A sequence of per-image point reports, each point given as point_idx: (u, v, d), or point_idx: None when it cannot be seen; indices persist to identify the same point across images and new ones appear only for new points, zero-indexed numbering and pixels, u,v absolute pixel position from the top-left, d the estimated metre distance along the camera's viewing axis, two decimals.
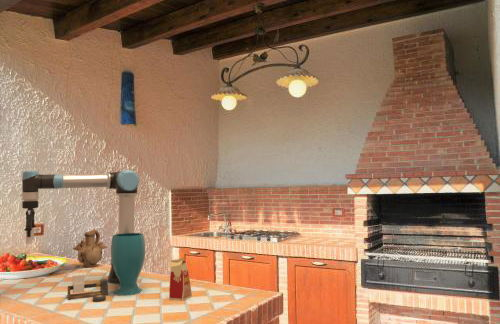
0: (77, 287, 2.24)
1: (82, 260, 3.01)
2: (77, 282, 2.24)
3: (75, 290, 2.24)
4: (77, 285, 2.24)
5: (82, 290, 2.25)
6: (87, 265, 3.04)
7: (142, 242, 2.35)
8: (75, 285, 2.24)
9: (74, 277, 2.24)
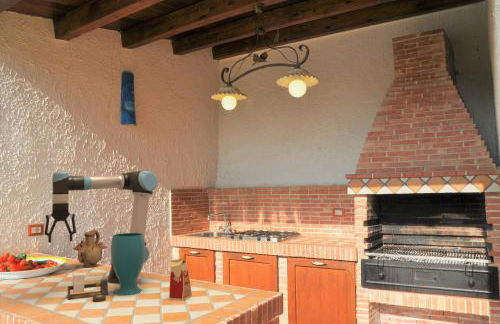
0: (77, 287, 2.24)
1: (82, 260, 3.01)
2: (77, 282, 2.24)
3: (75, 290, 2.24)
4: (77, 285, 2.24)
5: (82, 290, 2.25)
6: (87, 265, 3.04)
7: (142, 242, 2.35)
8: (75, 285, 2.24)
9: (74, 277, 2.24)
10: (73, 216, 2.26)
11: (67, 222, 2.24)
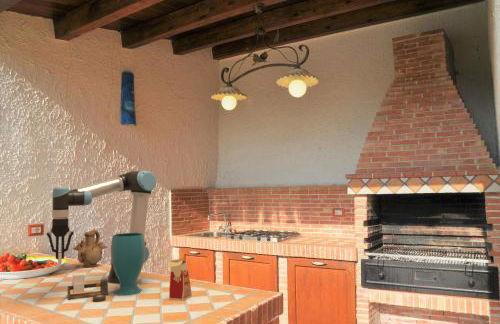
0: (77, 287, 2.24)
1: (82, 260, 3.01)
2: (77, 282, 2.24)
3: (75, 290, 2.24)
4: (77, 285, 2.24)
5: (82, 290, 2.25)
6: (87, 265, 3.04)
7: (142, 242, 2.35)
8: (75, 285, 2.24)
9: (74, 277, 2.24)
10: (71, 234, 2.25)
11: None
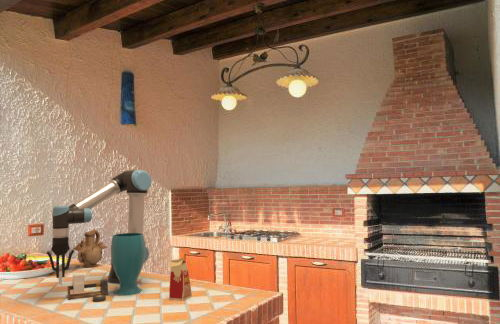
0: (77, 287, 2.24)
1: (82, 260, 3.01)
2: (77, 282, 2.24)
3: (75, 290, 2.24)
4: (77, 285, 2.24)
5: (82, 290, 2.25)
6: (87, 265, 3.04)
7: (142, 242, 2.35)
8: (75, 285, 2.24)
9: (74, 277, 2.24)
10: (72, 252, 2.25)
11: (64, 257, 2.23)
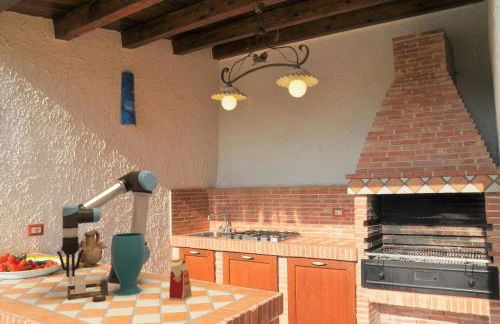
0: (79, 286, 2.24)
1: (82, 260, 3.01)
2: (78, 282, 2.25)
3: (76, 290, 2.24)
4: (78, 285, 2.24)
5: (83, 290, 2.25)
6: (87, 265, 3.04)
7: (142, 242, 2.35)
8: (76, 285, 2.24)
9: (75, 277, 2.24)
10: (81, 251, 2.27)
11: (74, 257, 2.25)
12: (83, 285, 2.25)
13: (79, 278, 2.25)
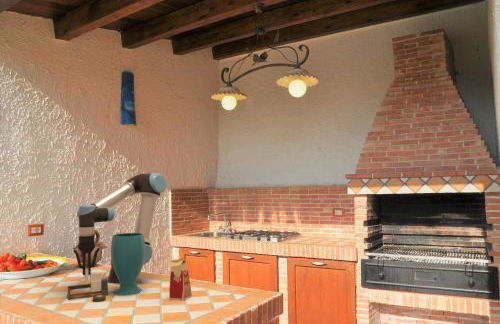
0: (95, 285, 2.28)
1: None
2: (94, 280, 2.28)
3: (92, 288, 2.27)
4: (94, 283, 2.28)
5: (99, 288, 2.29)
6: (87, 265, 3.04)
7: (142, 242, 2.35)
8: (92, 283, 2.27)
9: (91, 275, 2.28)
10: (97, 250, 2.30)
11: (90, 255, 2.28)
12: (99, 283, 2.29)
13: (95, 276, 2.28)
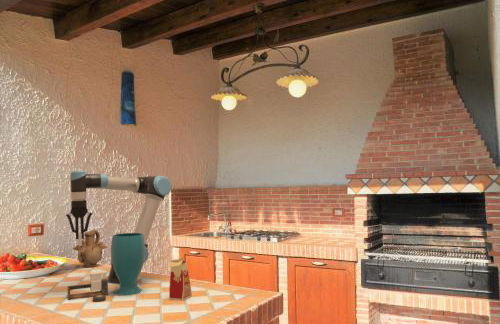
0: (95, 285, 2.28)
1: (82, 260, 3.01)
2: (94, 280, 2.28)
3: (93, 288, 2.27)
4: (94, 283, 2.28)
5: (99, 288, 2.29)
6: (87, 265, 3.04)
7: (142, 242, 2.35)
8: (93, 283, 2.27)
9: (92, 275, 2.28)
10: (90, 215, 2.34)
11: (83, 220, 2.32)
12: (99, 283, 2.29)
13: (95, 276, 2.28)
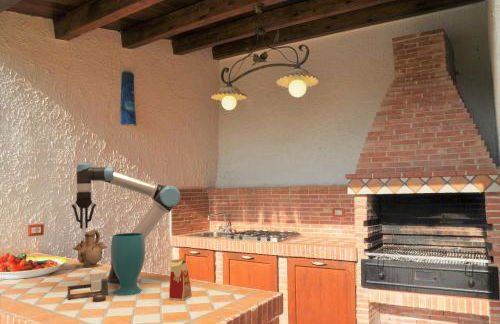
0: (95, 285, 2.28)
1: (82, 260, 3.01)
2: (94, 280, 2.28)
3: (93, 288, 2.27)
4: (94, 283, 2.28)
5: (99, 288, 2.29)
6: (87, 265, 3.04)
7: (142, 242, 2.35)
8: (93, 283, 2.27)
9: (92, 275, 2.28)
10: (94, 205, 2.47)
11: (87, 210, 2.46)
12: (99, 283, 2.29)
13: (95, 276, 2.28)
